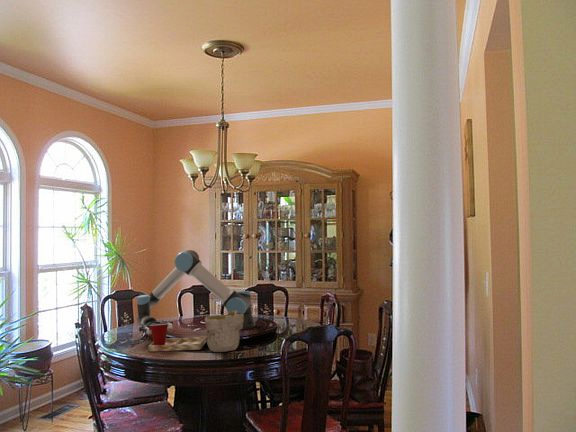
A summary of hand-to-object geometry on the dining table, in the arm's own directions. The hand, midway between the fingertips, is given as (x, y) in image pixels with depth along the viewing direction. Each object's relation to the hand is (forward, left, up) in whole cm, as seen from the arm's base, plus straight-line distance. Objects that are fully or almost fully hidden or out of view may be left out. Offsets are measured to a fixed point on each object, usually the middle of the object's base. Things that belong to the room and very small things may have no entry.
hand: (160, 329), depth 282 cm
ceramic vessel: (-38, +12, -9) cm, 41 cm away
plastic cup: (-1, +6, -8) cm, 10 cm away
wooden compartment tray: (-11, +5, -9) cm, 15 cm away
